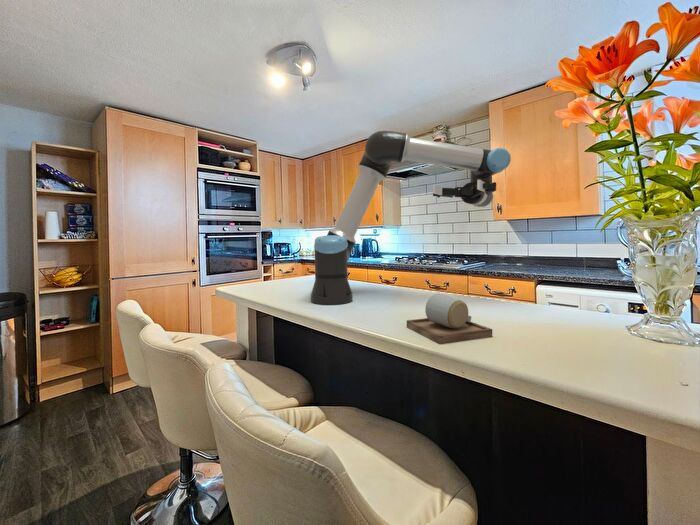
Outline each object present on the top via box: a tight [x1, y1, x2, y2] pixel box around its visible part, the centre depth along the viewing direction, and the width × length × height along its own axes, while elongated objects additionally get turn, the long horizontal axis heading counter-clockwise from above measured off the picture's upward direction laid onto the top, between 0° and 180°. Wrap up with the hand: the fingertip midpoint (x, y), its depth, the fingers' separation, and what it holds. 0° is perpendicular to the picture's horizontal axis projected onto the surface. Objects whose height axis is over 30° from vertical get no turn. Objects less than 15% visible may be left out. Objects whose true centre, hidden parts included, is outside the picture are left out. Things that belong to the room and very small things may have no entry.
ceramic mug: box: [424, 292, 472, 329], centre depth 77 cm, size 10×8×7 cm
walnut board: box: [406, 317, 493, 345], centre depth 76 cm, size 14×14×2 cm
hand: (455, 186), depth 98 cm, fingers open, 13 cm apart
